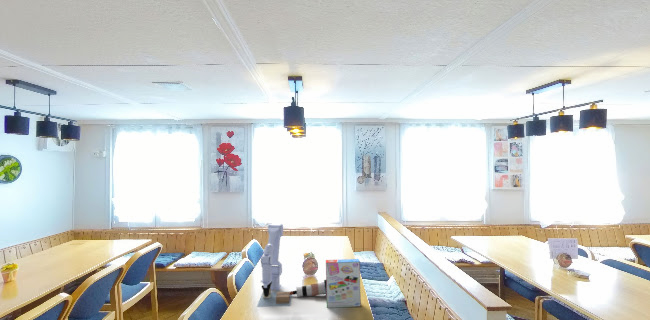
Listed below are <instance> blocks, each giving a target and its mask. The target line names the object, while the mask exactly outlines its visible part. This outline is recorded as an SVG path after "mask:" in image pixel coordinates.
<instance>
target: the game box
mask: <svg viewBox="0 0 650 320" xmlns="http://www.w3.org/2000/svg"><path fill="white" fill-rule="evenodd" d="M325 280H326V291H327V296H326V308H329V309H330V308H351V307H352V308H353V307H357V308H358V307H362V302H361V299H362V298H361V261H360V259H359V258H351V259H350V258H349V259H346V258H345V259H326V260H325Z"/></svg>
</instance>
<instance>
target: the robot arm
mask: <svg viewBox="0 0 650 320" xmlns="http://www.w3.org/2000/svg"><path fill="white" fill-rule="evenodd" d="M267 233H268V240H267V241H268V242H267V244H266V245H265V247H264V251H263V255H261V257H260V265H261V266H260V267H261V268H262V270H261V275H262V277H261V278H262V279H261V280H260V283H262V285H261V289H262V292H263V291H264V296H265V297H268V295H269V289H270V288H271V291H280V290H281V286H282V284H281V283H280V282H281V281H280V279H281V278H280V276H281V275H282V274H283V264H282V263H281V262H280V260H279V256H280V255H279V254H280V246H281V245H280V243H281V242H280V241H281V237H283V235H284V224H282V223H268V225H267Z"/></svg>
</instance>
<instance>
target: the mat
mask: <svg viewBox="0 0 650 320" xmlns="http://www.w3.org/2000/svg"><path fill="white" fill-rule="evenodd" d="M277 292H278V291H271V297H270V298H263V292H261V295H260V298H259V301H258V303H257V306H256V307H257V308H265V307H266V308H267V307H270V308H271V307H272V308H273V307H291V304H292V298H293V295H290V301H289V303H277V304H276V295H277Z"/></svg>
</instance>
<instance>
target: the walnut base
mask: <svg viewBox="0 0 650 320" xmlns="http://www.w3.org/2000/svg"><path fill="white" fill-rule="evenodd" d="M276 292H277V295H276V304H277V303H289V301H290V291H276Z"/></svg>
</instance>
